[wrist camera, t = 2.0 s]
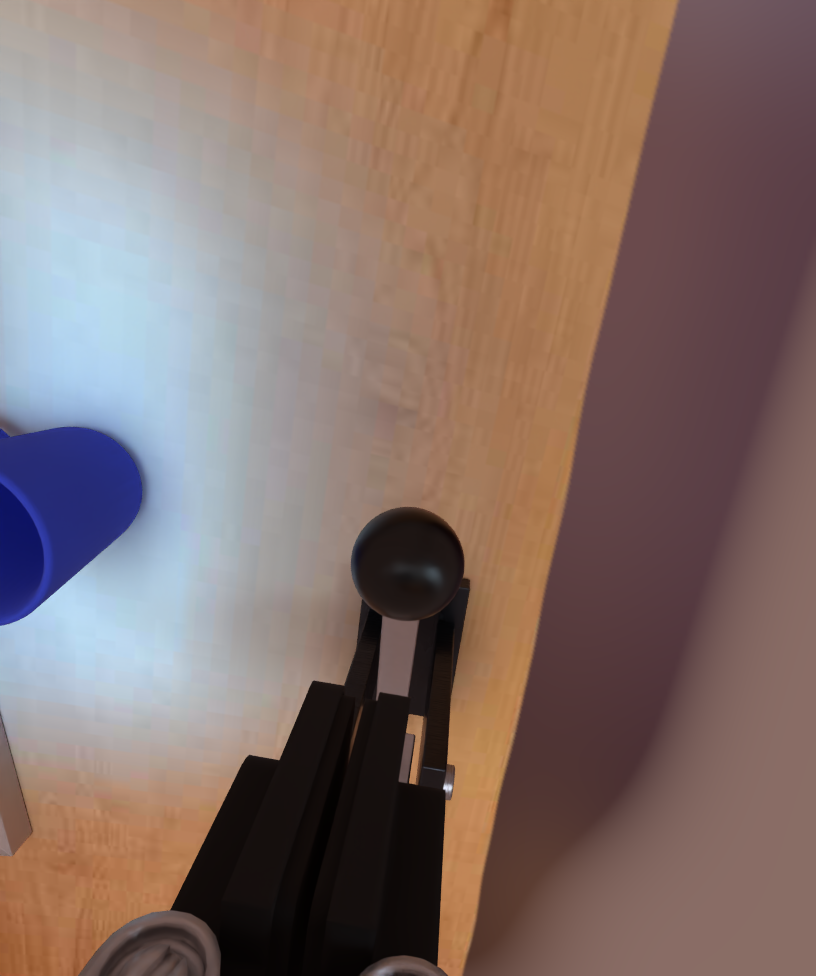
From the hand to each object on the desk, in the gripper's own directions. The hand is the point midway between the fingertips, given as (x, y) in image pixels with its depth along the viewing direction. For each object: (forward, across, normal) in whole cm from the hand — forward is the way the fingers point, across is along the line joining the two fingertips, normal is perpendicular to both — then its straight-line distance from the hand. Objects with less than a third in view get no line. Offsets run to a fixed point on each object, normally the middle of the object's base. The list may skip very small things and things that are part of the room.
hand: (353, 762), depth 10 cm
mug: (+25, +21, +4) cm, 33 cm away
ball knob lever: (+12, 0, +5) cm, 13 cm away
